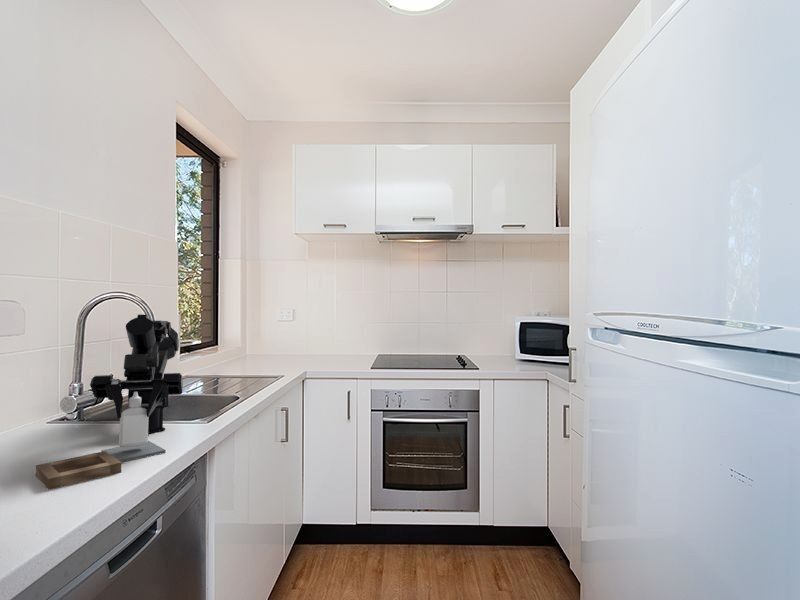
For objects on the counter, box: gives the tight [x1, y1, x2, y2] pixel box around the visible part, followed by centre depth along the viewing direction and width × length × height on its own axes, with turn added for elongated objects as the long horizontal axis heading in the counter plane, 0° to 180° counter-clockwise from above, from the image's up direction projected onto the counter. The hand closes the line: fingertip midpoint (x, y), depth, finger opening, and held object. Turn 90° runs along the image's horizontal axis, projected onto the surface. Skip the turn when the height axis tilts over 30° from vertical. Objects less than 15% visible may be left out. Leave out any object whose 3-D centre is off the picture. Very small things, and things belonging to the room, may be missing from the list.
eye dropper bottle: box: [118, 392, 149, 447], centre depth 104 cm, size 4×6×12 cm
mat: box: [100, 440, 166, 463], centre depth 104 cm, size 10×10×1 cm
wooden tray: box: [35, 451, 123, 490], centre depth 91 cm, size 12×10×2 cm
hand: (133, 416), depth 103 cm, fingers closed on eye dropper bottle, 5 cm apart
